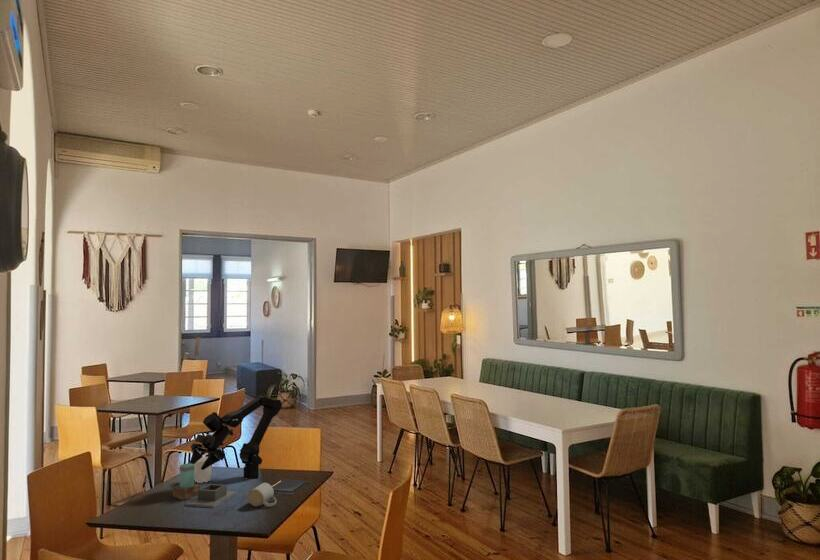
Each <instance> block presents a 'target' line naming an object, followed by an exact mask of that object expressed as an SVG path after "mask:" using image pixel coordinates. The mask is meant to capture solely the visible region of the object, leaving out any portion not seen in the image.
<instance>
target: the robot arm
mask: <svg viewBox="0 0 820 560" xmlns="http://www.w3.org/2000/svg"><path fill="white" fill-rule="evenodd" d="M261 406H262V416H261V418H260V420H259V422H258V424H257V426H256V428H255V430H254V432H253V434H252V436H251V438H250V440H249V441H248V442H247V443H245V442H244V443H243V444H242V447H241V448H240V449H239V458H240V461H241V463H242V464H244V467H243V478H244V479H245V478H251V479H257V478H256V477H260V476H259V475H260V474H259V472H260V471H259V468H260V465H262V464H263V458H262V457H261V456H260V455H259V454H260V445H261V442H262V440H263V439H264V436H265V434H266V433H267V431H268V428H269V426H270V424H271V422H272V420H273V418H274V417H276V416H277V415H278V414H279V413H280V411H281V409H282V407H283V405H282V401H281V399H278V398H276V399H275V398H268V397H266V396H263V395H257V396H256V397H254V399H252V400H250V401H249V402H247V404H245V405H243V406H242V407H240V408H239V409H236V410H233V411H230V412H228V413H226V414H224V415H223V416H221V417H220V416H219V414H218V412H215V411H214V412H212V413H211V414H209V415H207V416H205V417H204V419H203V421H202V424H203V425H204V426H205V427H206V428H207V429H209V430H210V432H213V433H212V434H209V433H208V434H206V435H205V434H204V435H203V434H199V433H197V436H196V438H195V440H194V442H193V443H192V444H191V445H190V448H191V451H192V454H191V457H190V460H189V463H191V464H195V463H196V462H197V461H198V460H199V459H201V458H202V457H204V455H205V454H207V457H208V458H207V459H206V461H205V462H204V464H203V465H202V467H201V470H204V469H206V468H207V467H209V466H211V465H212V466H213V465H214V464H216V463H218V462H221V461H223V460H224V459H225V458H226V453H225V452H224V451H223V450H222V449H221V448H220V447H223V445H224V441H225V440H226V438H227V437H228V436H231V437H232V436H234V432H233V430H234V429H232V428H237V427H238V426H239V425H240V424H241V423H242V422H243V421H244V419H245V418H246V417H248V416H249V415H250V414H252V413H253V412H255V411H256V410H257V409H259V408H260V407H261Z"/></svg>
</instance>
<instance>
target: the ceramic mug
mask: <svg viewBox="0 0 820 560" xmlns="http://www.w3.org/2000/svg"><path fill="white" fill-rule="evenodd" d="M272 486H273V485H271V484H270V483H269V482H262V483H260V484H259V485H258V486H255V487H254V488H253V489H251V490H250V492H249V493H248V496H247V497H248V502H249V504H251V506H252V507H254V508H255V507H257V508H258V507H261V506H263V505H264V506H265V507H269V508H272V506H273V507H275V506H276V504H277V499H276V497H275V496H274V495H275V494H274V491H273V488H272ZM270 501H272V503H270ZM274 505H275V506H274Z"/></svg>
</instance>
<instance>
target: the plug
mask: <svg viewBox="0 0 820 560" xmlns="http://www.w3.org/2000/svg"><path fill="white" fill-rule="evenodd" d="M194 484H195V471H194V464H191V463H190V462H188V463H184V464H180V465H179V485H180V488H182V489H185V488H189V487H192V486H194Z"/></svg>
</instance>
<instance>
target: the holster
mask: <svg viewBox="0 0 820 560" xmlns="http://www.w3.org/2000/svg"><path fill="white" fill-rule="evenodd" d="M172 489H173V490H172V497H174V498H177V499H180V500H182V501H183V500H186V499H190V498H193V497H196V496H197V497H198V490H199V489H201V485H200V484H198V483H194V486H192V487H189V488H185V489H182V488H180V484H179V485H175V486H173V488H172Z"/></svg>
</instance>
